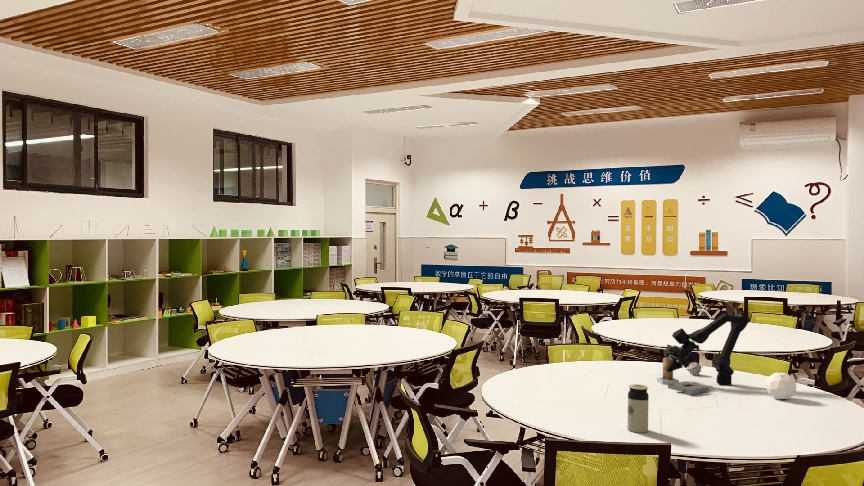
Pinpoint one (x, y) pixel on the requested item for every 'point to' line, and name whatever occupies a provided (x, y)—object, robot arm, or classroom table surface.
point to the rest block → (667, 381)
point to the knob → (666, 364)
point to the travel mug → (638, 408)
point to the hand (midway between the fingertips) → (665, 370)
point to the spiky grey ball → (694, 368)
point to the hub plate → (689, 388)
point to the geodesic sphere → (781, 386)
